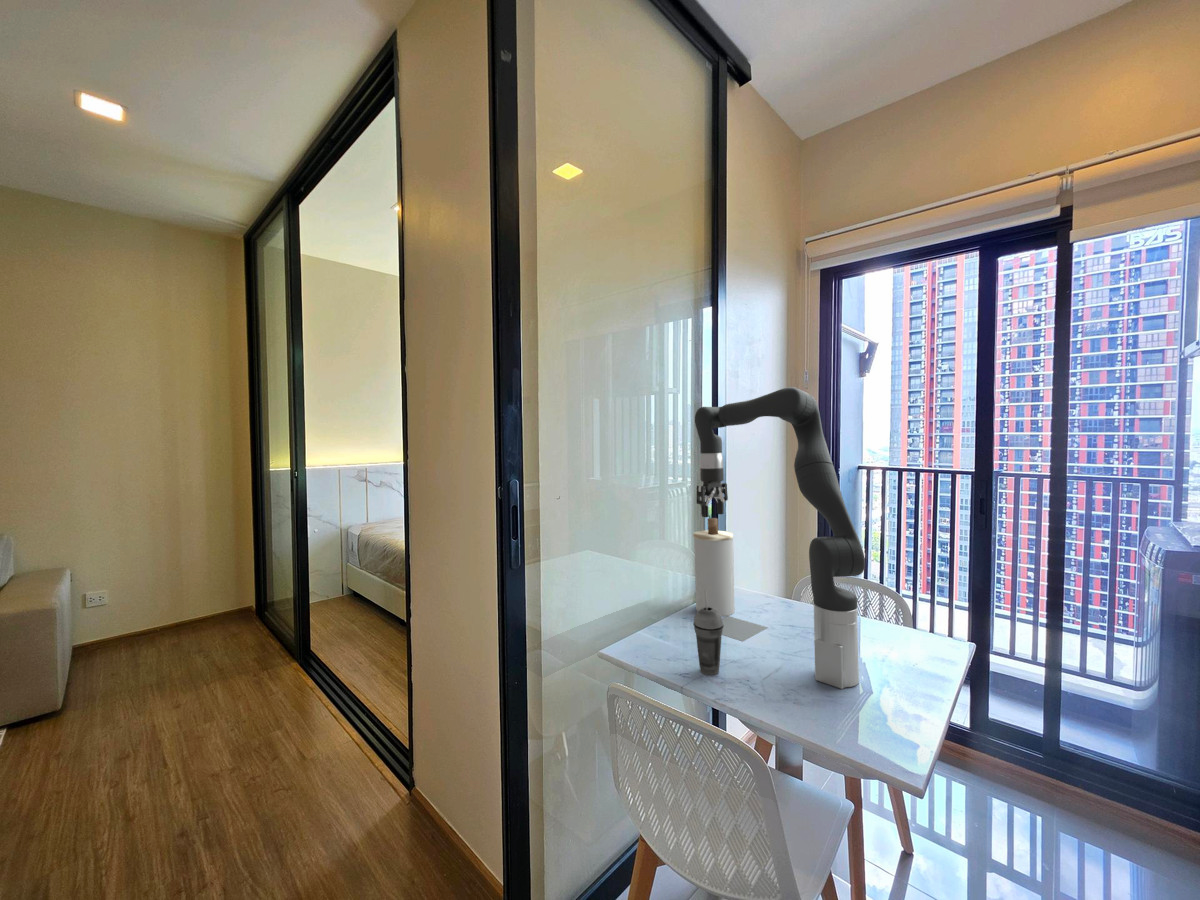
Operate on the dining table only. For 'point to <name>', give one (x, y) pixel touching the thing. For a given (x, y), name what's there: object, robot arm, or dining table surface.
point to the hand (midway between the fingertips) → (712, 515)
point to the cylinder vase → (715, 575)
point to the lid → (713, 532)
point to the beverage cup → (708, 639)
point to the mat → (740, 628)
